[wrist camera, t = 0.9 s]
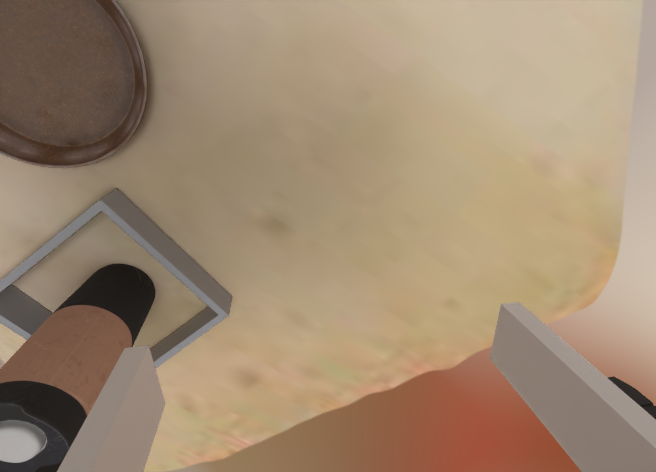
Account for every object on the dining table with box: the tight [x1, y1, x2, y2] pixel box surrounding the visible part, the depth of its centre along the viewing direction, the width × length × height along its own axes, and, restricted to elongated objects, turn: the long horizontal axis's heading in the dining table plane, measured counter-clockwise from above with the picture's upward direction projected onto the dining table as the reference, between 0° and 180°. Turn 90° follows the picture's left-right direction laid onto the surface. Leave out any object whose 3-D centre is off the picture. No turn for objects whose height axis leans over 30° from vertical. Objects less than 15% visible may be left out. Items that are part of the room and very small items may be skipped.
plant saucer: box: [0, 0, 147, 168], centre depth 30 cm, size 18×18×3 cm
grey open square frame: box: [0, 189, 232, 368], centre depth 39 cm, size 18×18×4 cm
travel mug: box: [0, 264, 155, 472], centre depth 32 cm, size 8×8×20 cm
